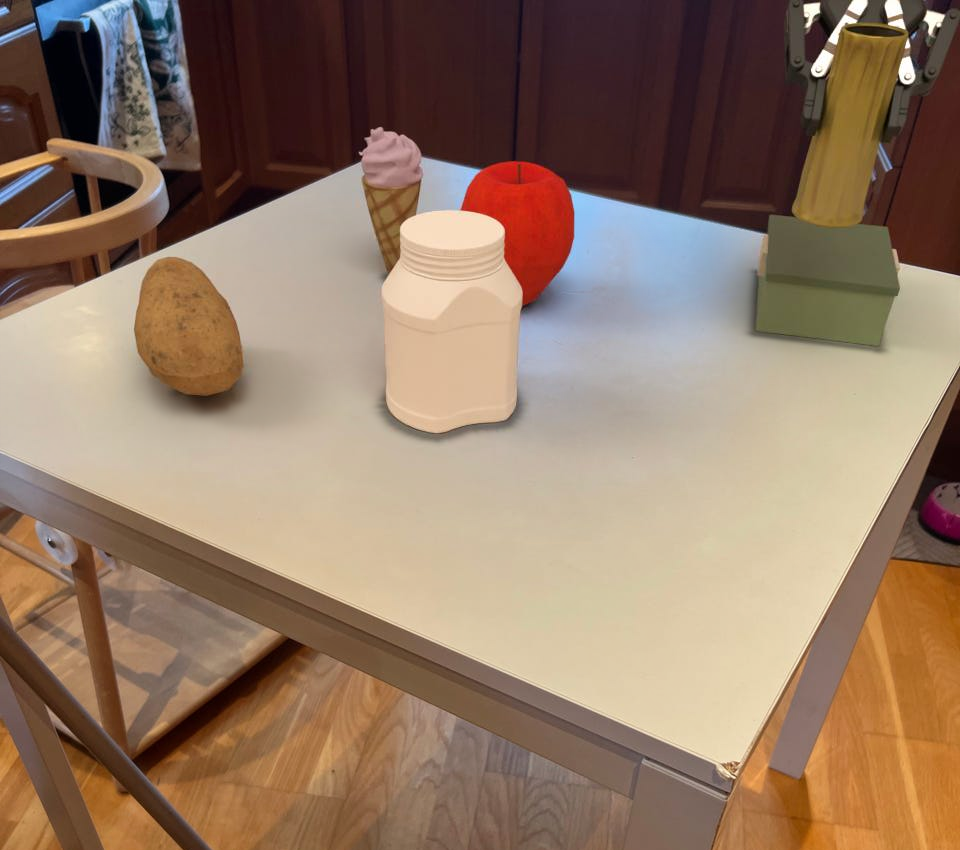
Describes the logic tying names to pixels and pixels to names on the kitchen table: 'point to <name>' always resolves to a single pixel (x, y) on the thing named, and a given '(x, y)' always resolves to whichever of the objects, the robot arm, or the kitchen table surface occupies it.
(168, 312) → the potato
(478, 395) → the jar
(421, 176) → the ice cream cone
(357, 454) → the kitchen table surface
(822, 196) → the vase
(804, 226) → the lunchbox
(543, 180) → the apple
